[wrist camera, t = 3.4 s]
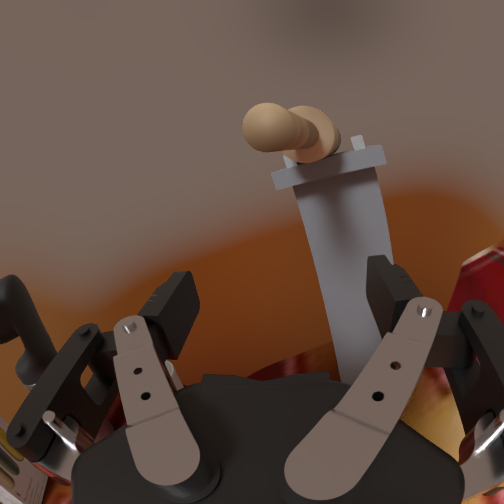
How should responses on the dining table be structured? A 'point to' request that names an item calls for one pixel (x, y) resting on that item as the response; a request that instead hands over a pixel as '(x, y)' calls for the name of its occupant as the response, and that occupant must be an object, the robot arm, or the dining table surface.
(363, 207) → the stand
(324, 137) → the rolling pin
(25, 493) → the supplement box
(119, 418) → the dining table surface
